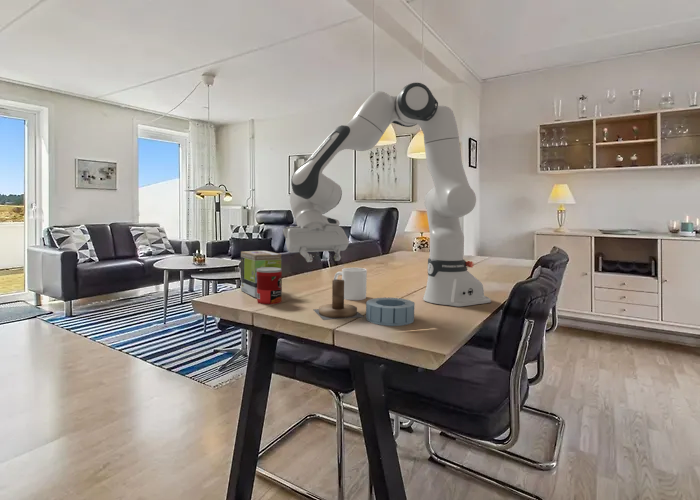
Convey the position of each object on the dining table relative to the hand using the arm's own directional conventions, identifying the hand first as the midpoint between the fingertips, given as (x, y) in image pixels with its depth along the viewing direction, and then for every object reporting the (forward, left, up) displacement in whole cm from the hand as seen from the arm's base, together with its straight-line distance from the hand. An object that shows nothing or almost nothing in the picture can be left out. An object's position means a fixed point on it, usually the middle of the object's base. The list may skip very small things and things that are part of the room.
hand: (324, 260), depth 128 cm
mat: (-2, +9, -15) cm, 17 cm away
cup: (-12, -11, -15) cm, 22 cm away
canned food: (+15, -11, -15) cm, 24 cm away
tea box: (+16, -27, -15) cm, 35 cm away
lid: (-2, +9, -14) cm, 17 cm away
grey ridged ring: (-14, +19, -15) cm, 28 cm away
